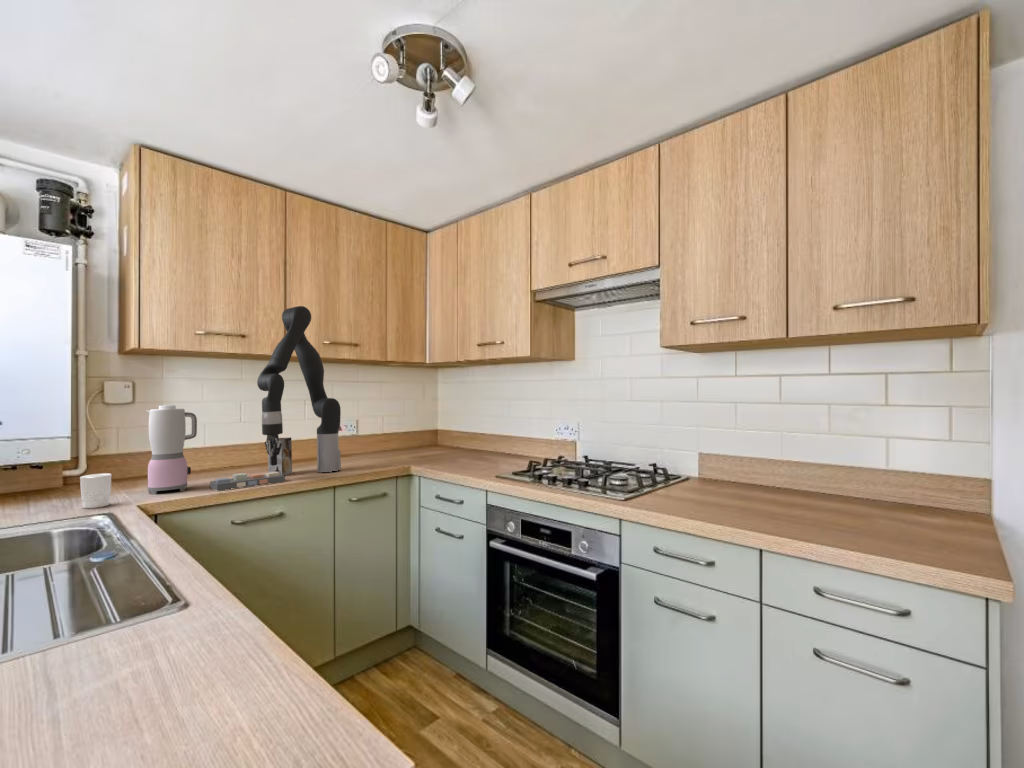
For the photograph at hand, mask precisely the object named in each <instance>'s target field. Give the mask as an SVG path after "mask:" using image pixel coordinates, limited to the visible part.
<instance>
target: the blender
mask: <svg viewBox="0 0 1024 768" xmlns="http://www.w3.org/2000/svg"><path fill="white" fill-rule="evenodd" d="M146 412H147V413H148V439H149V444H150V449H151V458H150V459H149V462H148V465H147V491H148V493H150V494H151V495H157V494H158V492H161V491H162V492H163V491H171V490H173V491H174V490H178V489H179V492H184V491H186V487H188V475H191V473H192V472H191V471H192V468H191V466H188V461H187V459H186V457H185V456H184V446H185V441H186V440H191V439H194V438H196V437H197V433H198V426H197V425H198V419H197V418H198V417H197V415H196V414H195V413H193V412H190V411H189V412H188V411H187V412H186V409H185V408H176V405H175V404H174V405H172V404H171V405H159V406H158V409H150V410H146ZM186 418H190V419H191V433H190V434H186V427H187V426H186ZM183 490H184V491H183Z"/></svg>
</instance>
